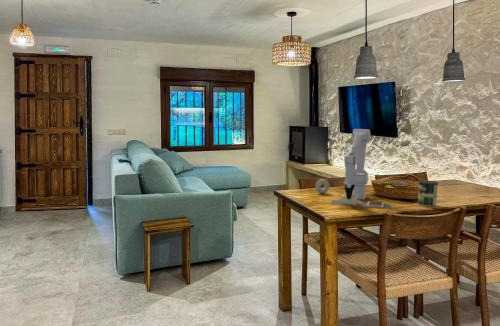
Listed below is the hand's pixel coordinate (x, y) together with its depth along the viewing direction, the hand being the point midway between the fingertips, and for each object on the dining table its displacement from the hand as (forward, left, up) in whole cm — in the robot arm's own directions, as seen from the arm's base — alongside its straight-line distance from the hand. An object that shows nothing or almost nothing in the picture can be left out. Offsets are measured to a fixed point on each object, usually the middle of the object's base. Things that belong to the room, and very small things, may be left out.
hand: (349, 197), depth 252 cm
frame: (0, +15, -3) cm, 15 cm away
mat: (0, +7, -4) cm, 8 cm away
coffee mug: (-32, +27, -4) cm, 41 cm away
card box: (0, 0, -3) cm, 3 cm away
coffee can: (-14, +45, -4) cm, 47 cm away
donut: (-28, -19, -4) cm, 34 cm away
